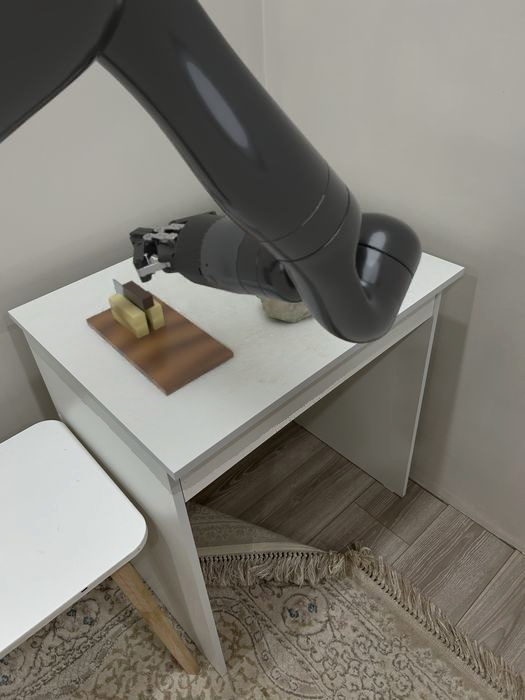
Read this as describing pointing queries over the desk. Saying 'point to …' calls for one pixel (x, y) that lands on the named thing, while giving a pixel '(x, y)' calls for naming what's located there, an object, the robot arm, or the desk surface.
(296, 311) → the garlic bulb
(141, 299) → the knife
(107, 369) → the desk surface
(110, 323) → the butter board
